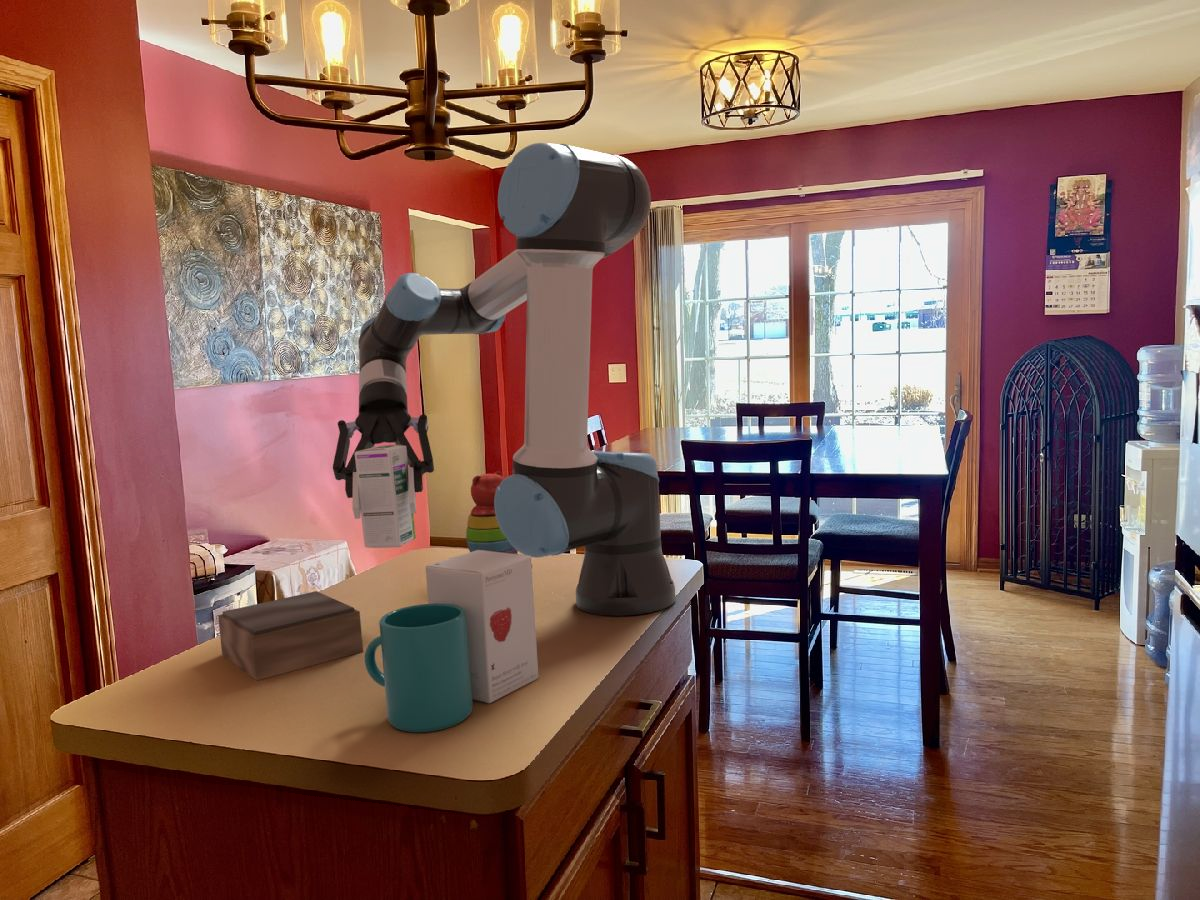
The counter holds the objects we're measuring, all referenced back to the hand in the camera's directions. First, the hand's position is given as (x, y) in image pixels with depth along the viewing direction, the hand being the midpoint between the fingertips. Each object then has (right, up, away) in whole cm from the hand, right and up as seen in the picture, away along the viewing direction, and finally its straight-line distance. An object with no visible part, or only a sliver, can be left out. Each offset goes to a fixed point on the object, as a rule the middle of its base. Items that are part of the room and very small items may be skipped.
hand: (384, 510), depth 126 cm
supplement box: (+18, -19, -24) cm, 35 cm away
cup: (+11, -20, -31) cm, 39 cm away
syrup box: (0, -5, +4) cm, 7 cm away
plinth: (-11, -19, -8) cm, 23 cm away
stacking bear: (+12, -13, +31) cm, 36 cm away
